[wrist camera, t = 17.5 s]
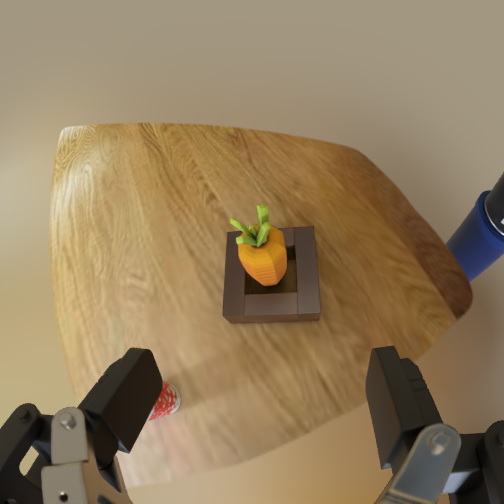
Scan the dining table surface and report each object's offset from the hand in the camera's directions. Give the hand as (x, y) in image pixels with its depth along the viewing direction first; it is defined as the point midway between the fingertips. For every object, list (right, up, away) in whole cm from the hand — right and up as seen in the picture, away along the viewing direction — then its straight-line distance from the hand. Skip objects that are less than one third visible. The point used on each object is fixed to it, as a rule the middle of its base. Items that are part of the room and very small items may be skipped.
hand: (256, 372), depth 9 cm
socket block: (+3, 0, +27) cm, 27 cm away
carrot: (+2, 0, +27) cm, 27 cm away
